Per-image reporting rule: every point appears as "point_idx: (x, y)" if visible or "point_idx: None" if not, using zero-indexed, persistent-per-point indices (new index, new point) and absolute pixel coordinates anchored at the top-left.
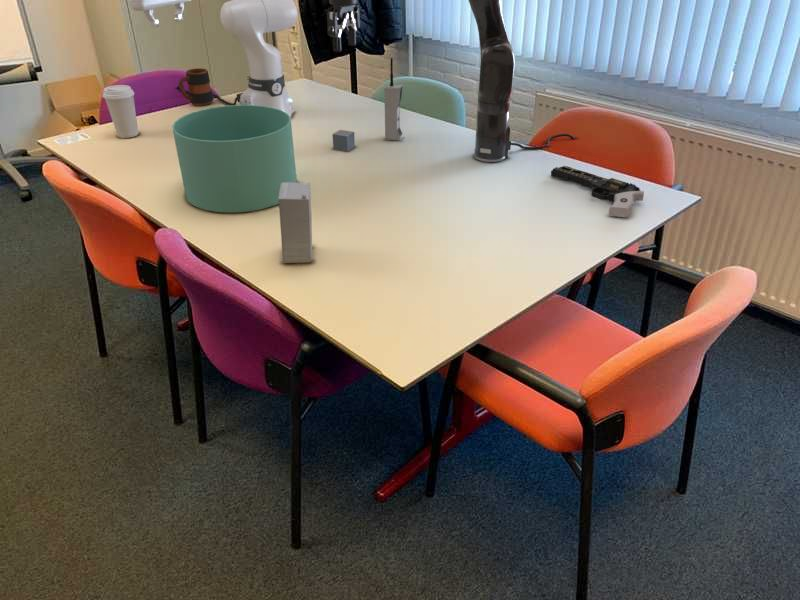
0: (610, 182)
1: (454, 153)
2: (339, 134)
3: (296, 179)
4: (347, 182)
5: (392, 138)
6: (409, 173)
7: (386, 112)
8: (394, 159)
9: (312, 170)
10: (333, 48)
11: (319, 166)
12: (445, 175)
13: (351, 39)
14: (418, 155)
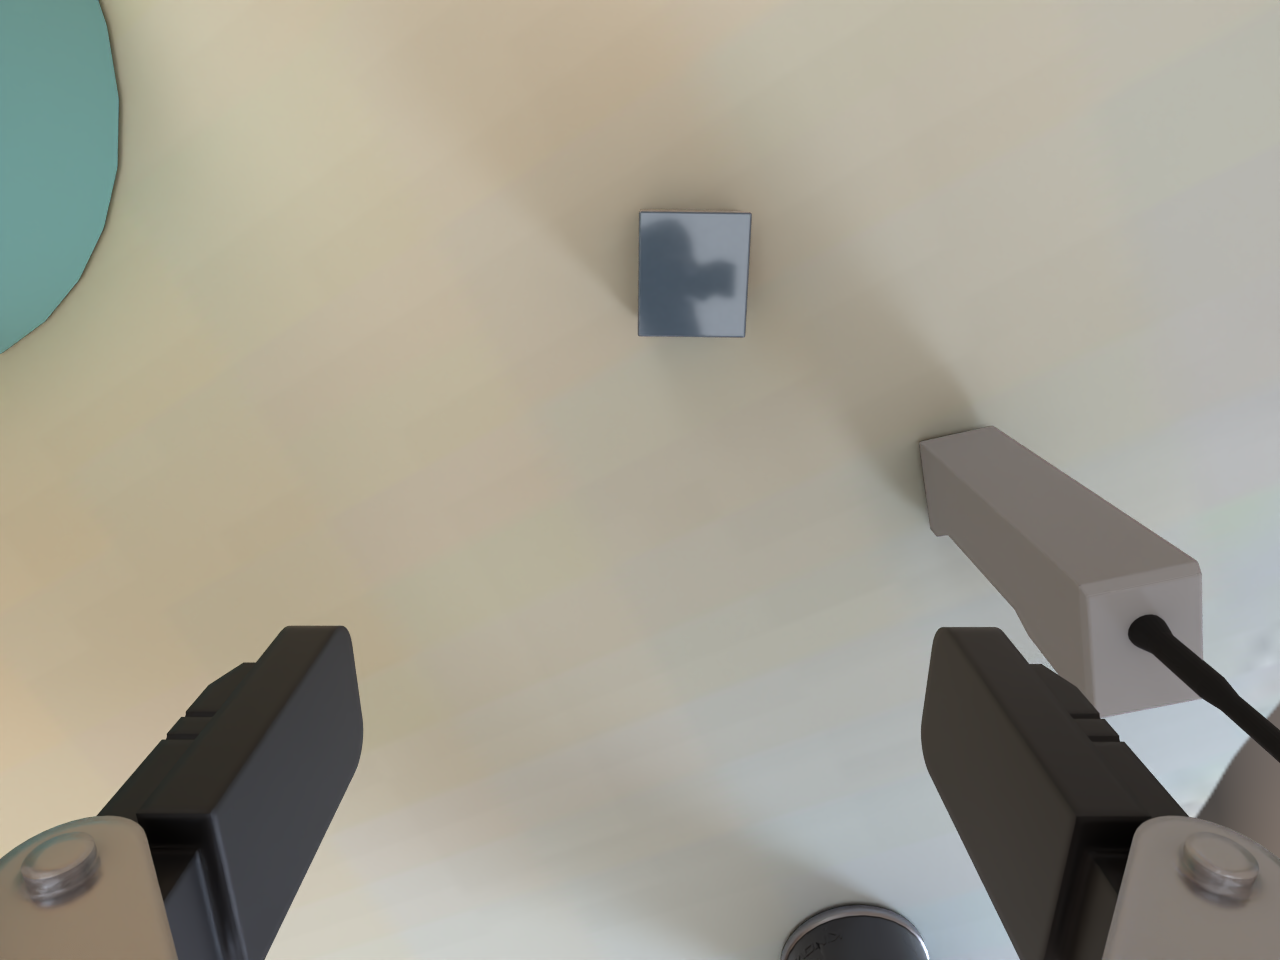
0: None
1: (845, 823)
2: (652, 266)
3: (15, 331)
4: (244, 538)
5: (926, 487)
6: (504, 741)
7: (987, 514)
8: (643, 610)
9: (272, 280)
10: (221, 679)
11: (346, 285)
12: (560, 873)
13: (972, 768)
14: (749, 692)
